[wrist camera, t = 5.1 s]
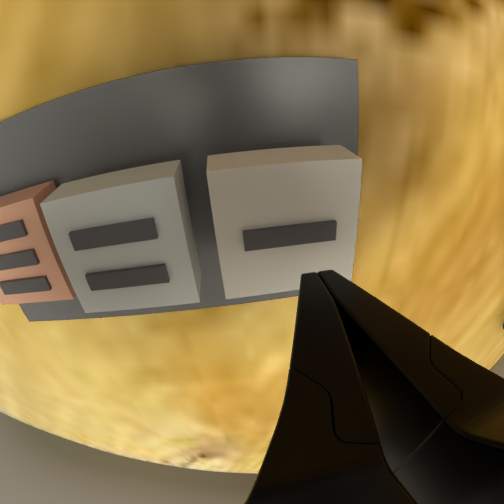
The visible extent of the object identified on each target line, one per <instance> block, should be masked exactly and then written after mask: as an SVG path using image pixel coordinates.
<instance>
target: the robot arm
mask: <svg viewBox="0 0 504 504" xmlns="http://www.w3.org/2000/svg"><path fill="white" fill-rule="evenodd" d="M244 504H504V378H502V377H500V376H498V375H497V374H495V373H493V372H491V371H490V370H488V369H486V368H484V367H482V366H481V365H479V364H477V363H475V362H474V361H472V360H470V359H469V358H467V357H465V356H463V355H462V354H460V353H458V352H457V351H455V350H454V349H452V348H451V347H449V346H448V345H446V344H445V343H443V342H442V341H440V340H439V339H437V338H436V337H434V336H433V335H431V336H430V334H429V333H428V332H427V331H425V330H424V329H422V328H421V327H419V326H418V325H416V324H415V323H413V322H412V321H410V320H409V319H407V318H406V317H404V316H403V315H401V314H400V313H398V312H397V311H395V310H394V309H392V308H391V307H389V306H388V305H386V304H385V303H383V302H382V301H380V300H379V299H377V298H376V297H374V296H373V295H371V294H369V293H368V292H366V291H365V290H363V289H362V288H360V287H359V286H357V285H356V284H354V283H353V282H351V281H349V280H348V279H346V278H345V277H343V276H342V275H340V274H339V273H337V272H335V271H334V270H324V271H319V272H318V273H316V272H310V273H303V274H302V275H301V279H300V288H299V297H298V306H297V314H296V323H295V331H294V339H293V346H292V354H291V361H290V369H289V374H288V381H287V386H286V392H285V397H284V401H283V405H282V409H281V412H280V415H279V418H278V422H277V425H276V428H275V430H274V433H273V436H272V439H271V441H270V444H269V447H268V449H267V452H266V455H265V457H264V460H263V463H262V465H261V468H260V470H259V473H258V475H257V478H256V480H255V482H254V485H253V487H252V489H251V491H250V493H249V495H248V497H247V499H246V501H245V502H244Z"/></svg>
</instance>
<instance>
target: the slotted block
mask: <svg viewBox="0 0 504 504" xmlns="http://www.w3.org/2000/svg"><path fill="white" fill-rule="evenodd" d="M54 190H56V186H55V183H54V180H53V181H49V182H46V183H42V184H39V185H35V186H32V187H29V188H25V189H22V190H19V191H16V192H13V193H10V194H6V195H3V196H0V302H1V304H2V305H7V304H21V303H34V302H47V301H59V300H71V299H74V297H75V295H76V293H75V291H74V289H73V287H72V284H71V282H70V280H69V278H68V276H67V273H66V271H65V269H64V266H63V264H62V262H61V259H60V257H59V254H58V252H57V249H56V247H55V244H54V242H53V239H52V237H51V234H50V231H49V229H48V226H47V223H46V220H45V217H44V215H43V212H42V209H41V206H40V203H41V202H42V201H43V200H45V199H46V198H47V197H48V196H49V195H50V194H51V193H52V192H53V191H54Z"/></svg>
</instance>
